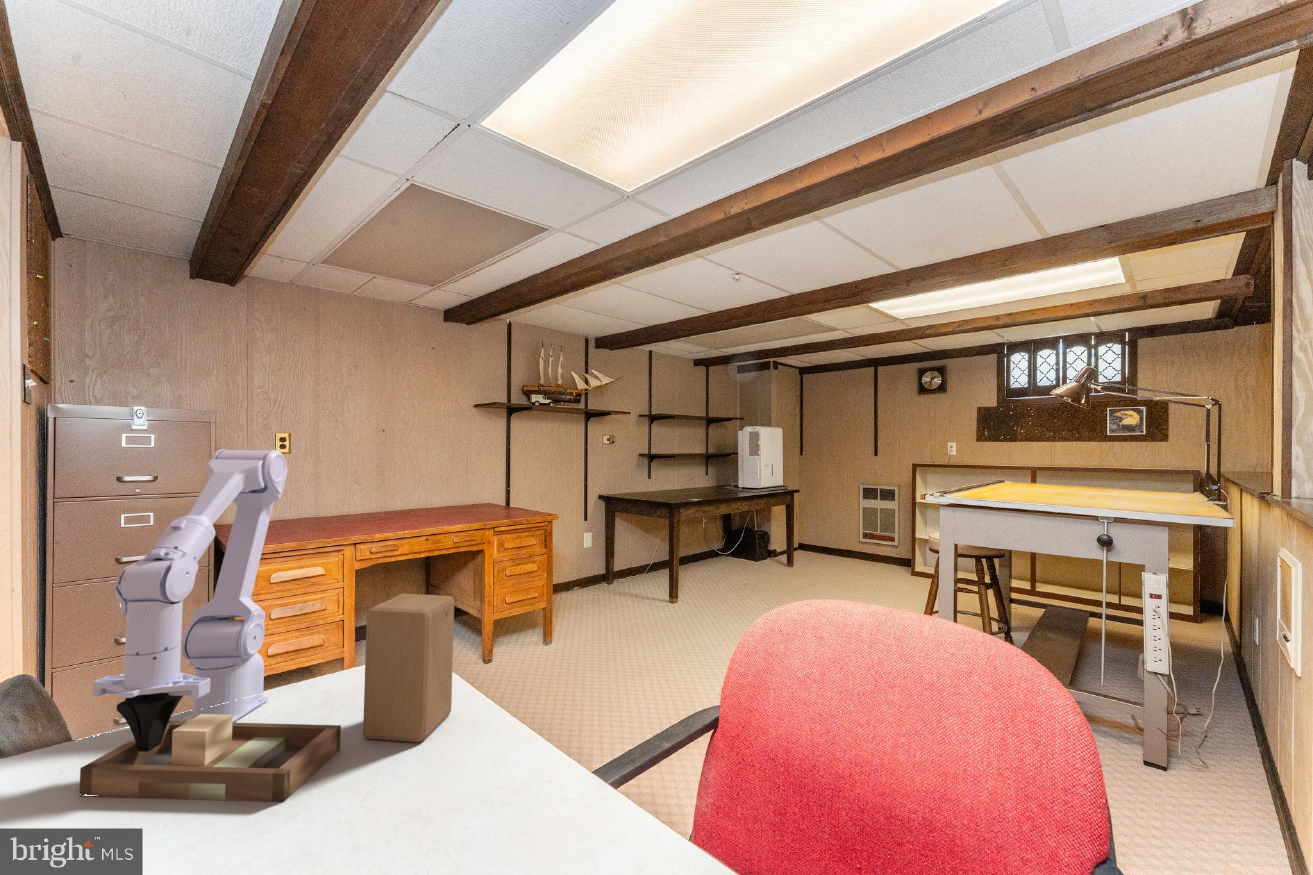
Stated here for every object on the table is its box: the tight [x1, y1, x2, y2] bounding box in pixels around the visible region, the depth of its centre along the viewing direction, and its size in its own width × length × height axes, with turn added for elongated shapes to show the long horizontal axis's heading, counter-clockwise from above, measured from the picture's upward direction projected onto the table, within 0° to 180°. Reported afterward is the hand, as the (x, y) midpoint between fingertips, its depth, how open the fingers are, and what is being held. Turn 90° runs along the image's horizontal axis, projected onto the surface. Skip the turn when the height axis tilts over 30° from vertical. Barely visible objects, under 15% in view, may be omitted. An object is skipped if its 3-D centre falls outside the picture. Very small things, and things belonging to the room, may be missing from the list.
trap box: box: [78, 720, 342, 803], centre depth 75 cm, size 12×26×4 cm, turn 89°
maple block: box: [171, 714, 233, 766], centre depth 75 cm, size 4×4×4 cm
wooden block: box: [362, 593, 455, 743], centre depth 88 cm, size 10×10×20 cm
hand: (149, 747), depth 75 cm, fingers closed
